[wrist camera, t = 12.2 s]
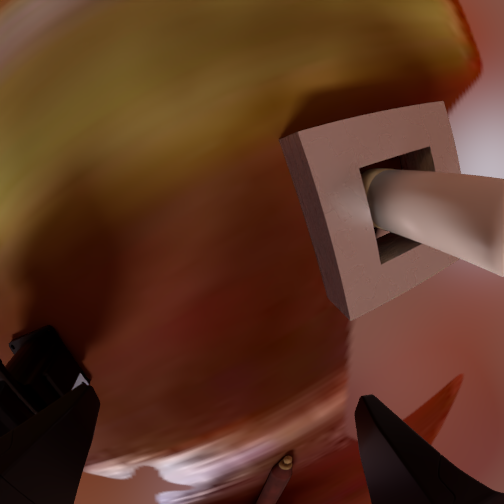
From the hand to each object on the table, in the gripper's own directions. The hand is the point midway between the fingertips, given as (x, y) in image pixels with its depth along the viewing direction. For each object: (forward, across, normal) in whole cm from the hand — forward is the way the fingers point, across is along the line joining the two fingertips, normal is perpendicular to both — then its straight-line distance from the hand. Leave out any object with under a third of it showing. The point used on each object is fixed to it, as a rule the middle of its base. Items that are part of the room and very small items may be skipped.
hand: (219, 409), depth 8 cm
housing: (+15, -10, -4) cm, 19 cm away
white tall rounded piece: (+15, -10, -4) cm, 19 cm away
